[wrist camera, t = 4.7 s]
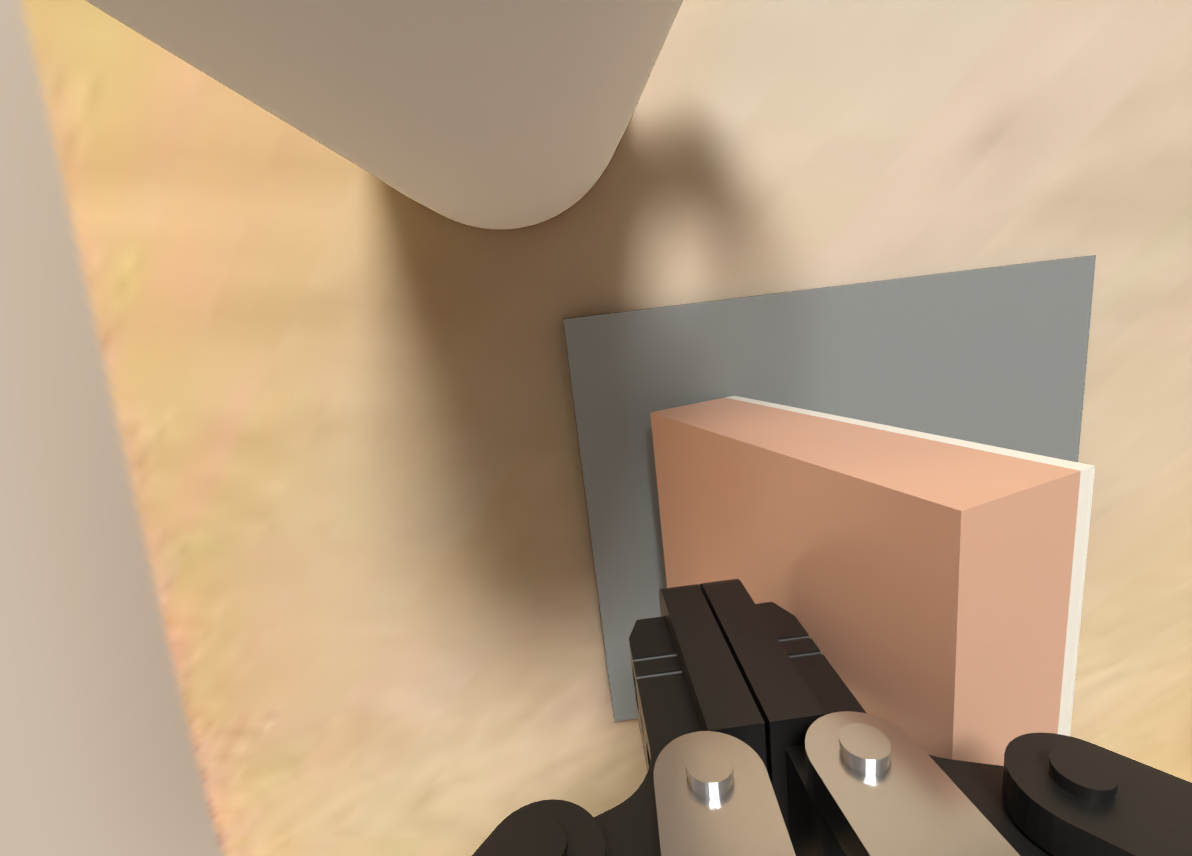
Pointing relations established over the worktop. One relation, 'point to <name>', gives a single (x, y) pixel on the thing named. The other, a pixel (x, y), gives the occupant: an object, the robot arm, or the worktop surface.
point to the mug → (435, 87)
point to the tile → (891, 559)
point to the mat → (818, 389)
